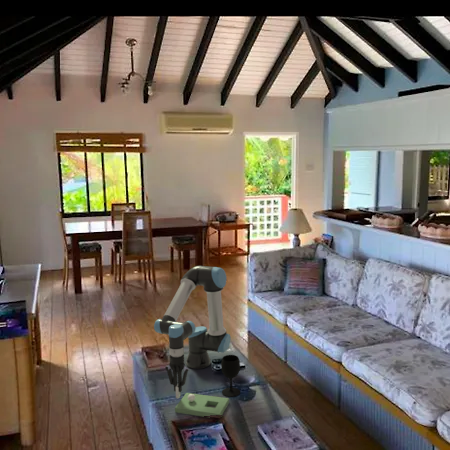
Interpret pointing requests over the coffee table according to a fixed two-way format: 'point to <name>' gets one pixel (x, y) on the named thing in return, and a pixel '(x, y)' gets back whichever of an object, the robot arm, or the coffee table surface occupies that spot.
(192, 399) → the ball
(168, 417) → the coffee table surface
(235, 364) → the wine glass
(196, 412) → the putting mat
